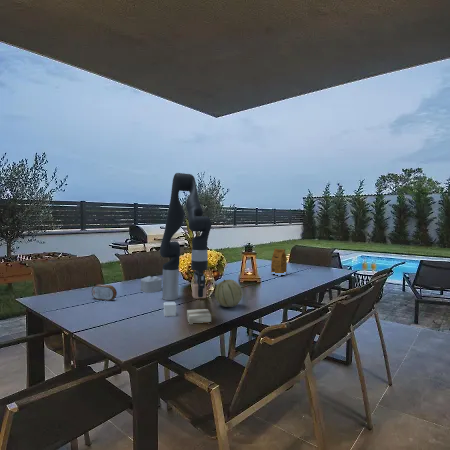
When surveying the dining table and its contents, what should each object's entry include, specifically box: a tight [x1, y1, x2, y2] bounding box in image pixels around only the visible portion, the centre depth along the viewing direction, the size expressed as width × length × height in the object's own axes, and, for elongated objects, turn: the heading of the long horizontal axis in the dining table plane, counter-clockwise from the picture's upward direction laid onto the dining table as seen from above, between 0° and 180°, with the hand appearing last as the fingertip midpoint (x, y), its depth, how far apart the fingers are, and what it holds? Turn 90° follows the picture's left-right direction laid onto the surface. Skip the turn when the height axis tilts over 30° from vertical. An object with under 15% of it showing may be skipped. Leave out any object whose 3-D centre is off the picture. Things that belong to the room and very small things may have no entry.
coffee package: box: [270, 247, 288, 273], centre depth 267 cm, size 10×12×22 cm
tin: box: [91, 283, 118, 301], centre depth 184 cm, size 15×3×8 cm, turn 74°
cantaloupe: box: [214, 279, 243, 308], centre depth 174 cm, size 15×15×15 cm
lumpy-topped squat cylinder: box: [140, 275, 163, 294], centre depth 208 cm, size 10×13×9 cm
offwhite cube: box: [163, 301, 177, 317], centre depth 159 cm, size 6×6×6 cm
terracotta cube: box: [191, 283, 207, 299], centre depth 151 cm, size 6×6×6 cm
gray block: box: [186, 308, 212, 325], centre depth 151 cm, size 10×10×4 cm
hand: (199, 295), depth 151 cm, fingers closed on terracotta cube, 5 cm apart
